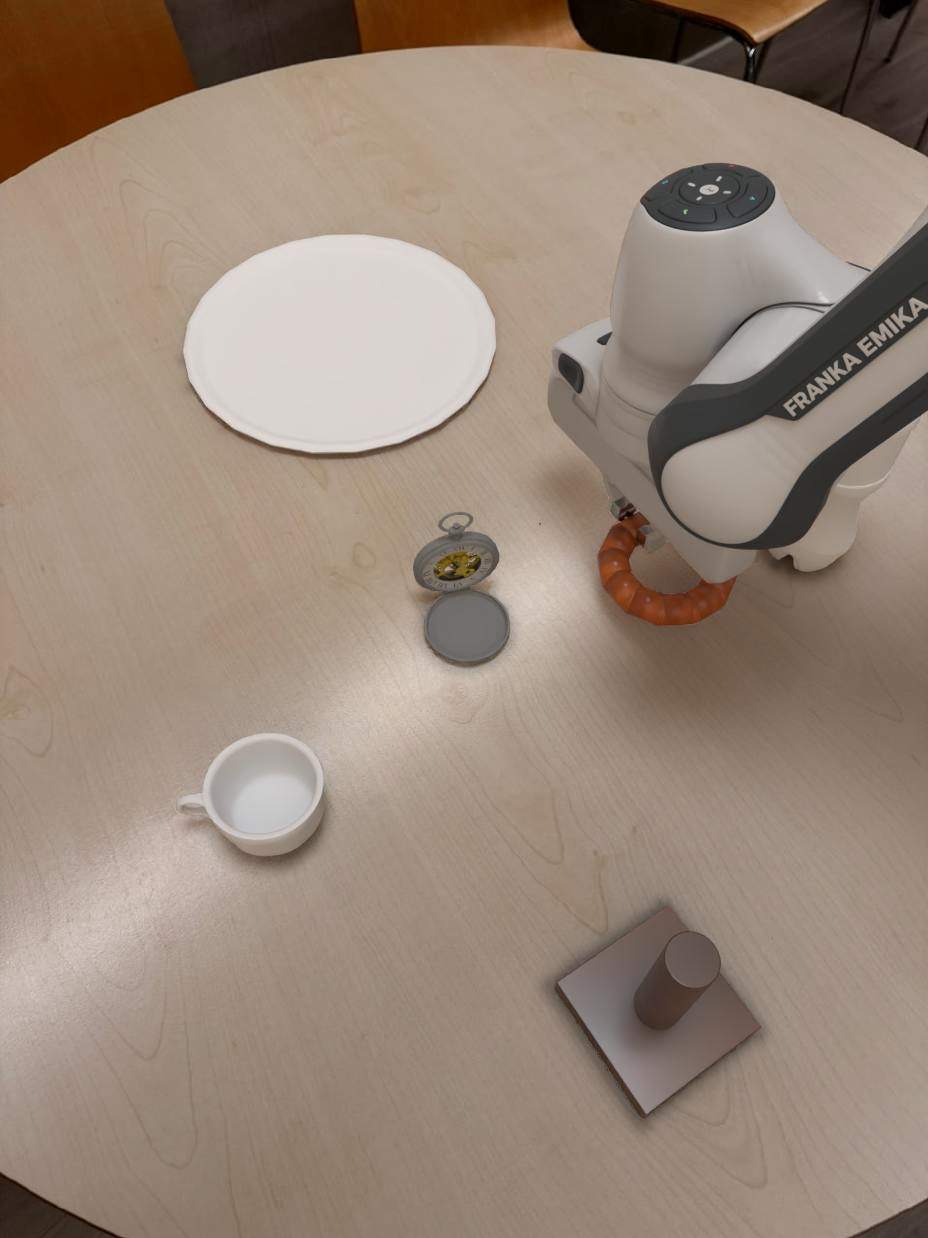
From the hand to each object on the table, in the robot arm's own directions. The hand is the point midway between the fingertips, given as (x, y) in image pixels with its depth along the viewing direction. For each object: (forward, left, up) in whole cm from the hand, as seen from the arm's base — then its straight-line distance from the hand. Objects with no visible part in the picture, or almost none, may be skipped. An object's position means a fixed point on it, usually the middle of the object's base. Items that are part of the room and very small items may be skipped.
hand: (635, 527), depth 80 cm
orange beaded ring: (-4, 0, 0) cm, 4 cm away
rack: (-29, +20, -4) cm, 35 cm away
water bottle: (-7, -13, -4) cm, 15 cm away
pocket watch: (+2, +14, -4) cm, 15 cm away
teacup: (-4, +35, -4) cm, 36 cm away
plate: (+34, +7, -4) cm, 35 cm away
